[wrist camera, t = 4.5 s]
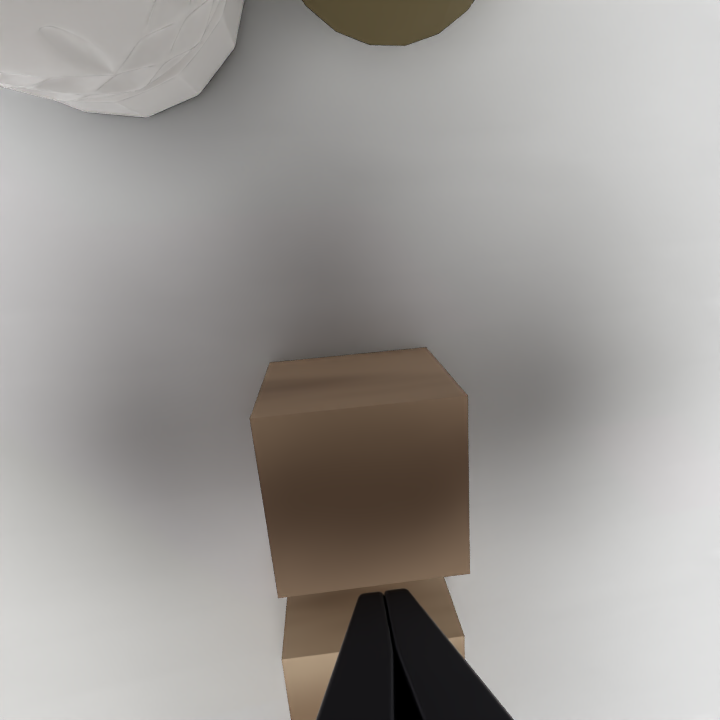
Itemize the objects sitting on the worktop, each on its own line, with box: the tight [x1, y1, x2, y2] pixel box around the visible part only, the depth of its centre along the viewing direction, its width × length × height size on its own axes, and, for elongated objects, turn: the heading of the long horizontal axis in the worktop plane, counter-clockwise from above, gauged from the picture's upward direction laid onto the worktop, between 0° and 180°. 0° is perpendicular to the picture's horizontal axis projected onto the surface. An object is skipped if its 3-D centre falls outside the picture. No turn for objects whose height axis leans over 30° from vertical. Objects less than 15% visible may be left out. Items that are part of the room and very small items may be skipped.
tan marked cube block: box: [282, 577, 465, 720], centre depth 15 cm, size 5×5×5 cm
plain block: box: [250, 347, 470, 598], centre depth 13 cm, size 5×5×4 cm
